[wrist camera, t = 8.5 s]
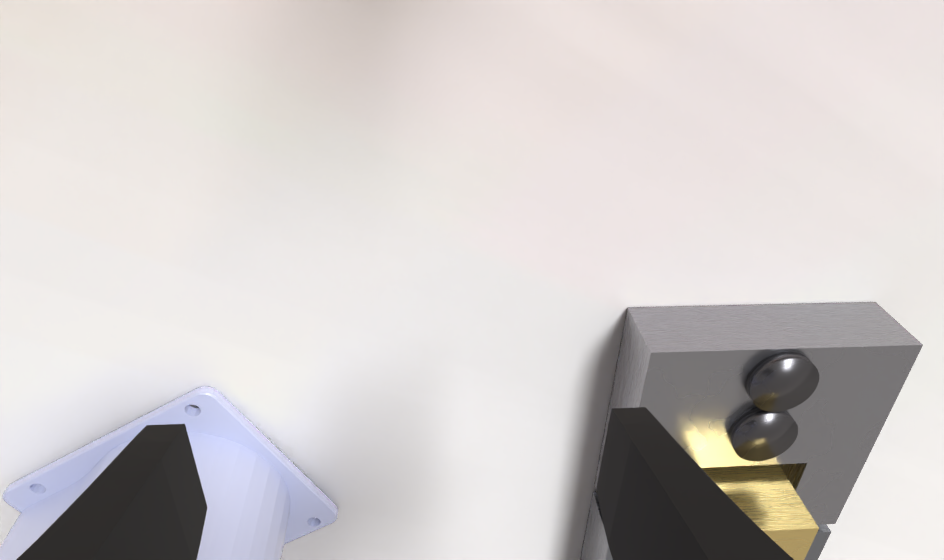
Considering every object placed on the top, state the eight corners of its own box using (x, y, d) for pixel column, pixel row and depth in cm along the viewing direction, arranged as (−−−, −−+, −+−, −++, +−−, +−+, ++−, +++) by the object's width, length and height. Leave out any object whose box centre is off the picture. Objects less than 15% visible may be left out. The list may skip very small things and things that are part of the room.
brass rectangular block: (716, 521, 29) (770, 631, 25) (651, 524, 29) (693, 636, 25) (751, 422, 26) (819, 528, 22) (678, 424, 26) (732, 533, 21)
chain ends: (747, 603, 32) (775, 662, 30) (570, 615, 32) (583, 676, 29) (875, 302, 23) (931, 352, 21) (627, 307, 22) (655, 360, 20)
